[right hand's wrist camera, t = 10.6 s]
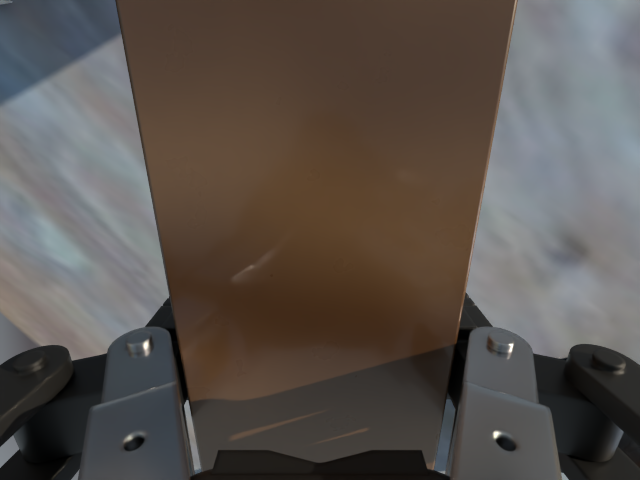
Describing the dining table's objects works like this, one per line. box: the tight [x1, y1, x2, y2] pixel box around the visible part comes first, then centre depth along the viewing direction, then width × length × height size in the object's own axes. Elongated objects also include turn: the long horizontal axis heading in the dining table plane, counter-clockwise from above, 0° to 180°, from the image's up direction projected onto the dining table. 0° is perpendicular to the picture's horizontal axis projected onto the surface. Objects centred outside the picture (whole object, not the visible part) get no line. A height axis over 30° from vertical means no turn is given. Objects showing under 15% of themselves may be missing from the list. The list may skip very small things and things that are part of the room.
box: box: [115, 0, 518, 472], centre depth 11 cm, size 21×6×12 cm, turn 0°
